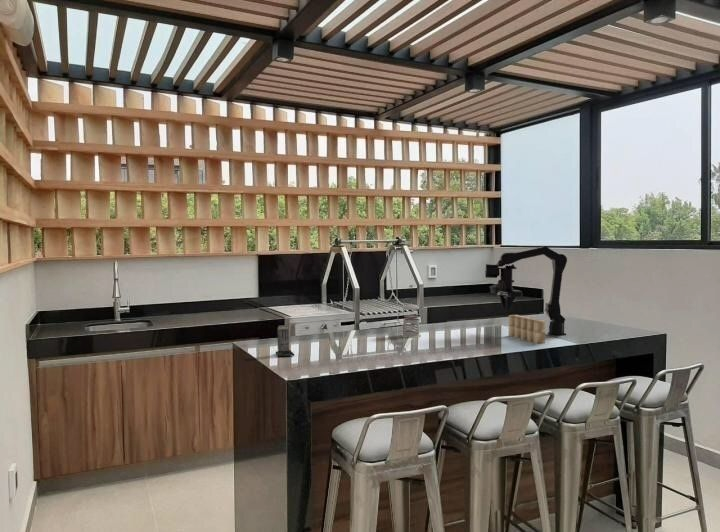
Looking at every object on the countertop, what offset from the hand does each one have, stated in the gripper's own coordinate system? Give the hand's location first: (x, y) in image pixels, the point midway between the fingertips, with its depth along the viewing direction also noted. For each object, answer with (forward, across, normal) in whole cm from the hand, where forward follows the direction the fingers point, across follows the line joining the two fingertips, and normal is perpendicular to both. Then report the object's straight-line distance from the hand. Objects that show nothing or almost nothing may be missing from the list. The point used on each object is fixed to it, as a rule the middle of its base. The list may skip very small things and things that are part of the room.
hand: (505, 309), depth 275 cm
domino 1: (+12, +7, 0) cm, 14 cm away
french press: (+12, -10, -48) cm, 51 cm away
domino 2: (+12, +12, 0) cm, 17 cm away
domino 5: (+12, +26, 0) cm, 29 cm away
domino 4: (+12, +21, 0) cm, 25 cm away
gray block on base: (+12, +13, -114) cm, 115 cm away
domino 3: (+12, +17, 0) cm, 20 cm away
